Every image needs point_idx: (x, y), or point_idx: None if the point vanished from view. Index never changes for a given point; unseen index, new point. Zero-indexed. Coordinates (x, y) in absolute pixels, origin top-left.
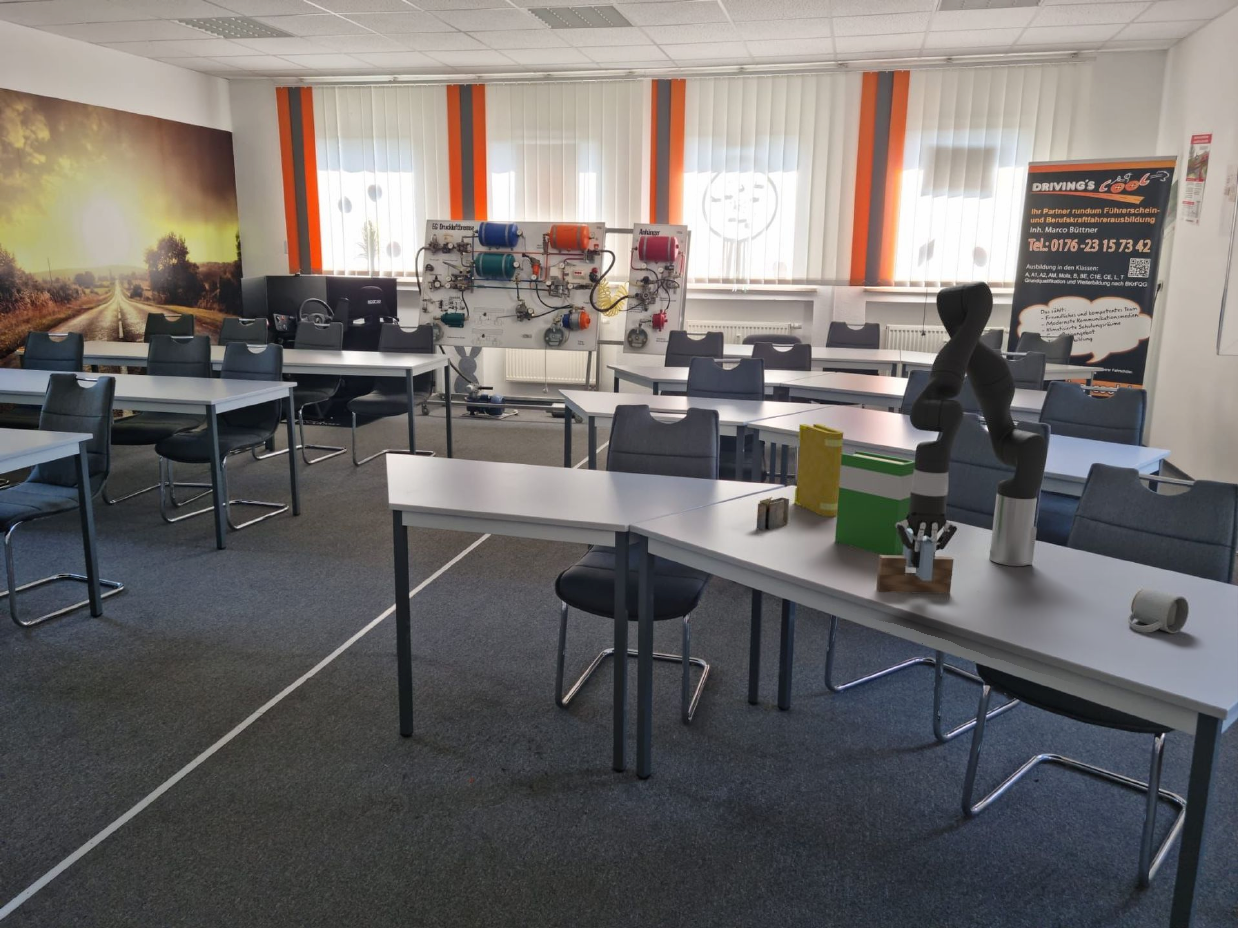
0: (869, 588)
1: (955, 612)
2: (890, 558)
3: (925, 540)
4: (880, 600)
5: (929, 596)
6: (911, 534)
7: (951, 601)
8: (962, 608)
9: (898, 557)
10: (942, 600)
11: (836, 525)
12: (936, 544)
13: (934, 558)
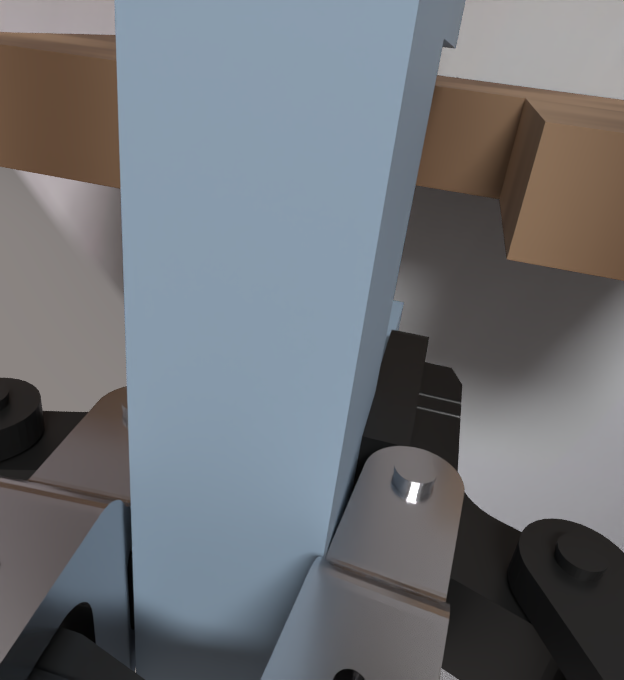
0: (91, 24)
1: (479, 506)
2: (20, 169)
3: (238, 632)
4: (115, 271)
5: (479, 244)
6: (130, 32)
7: (585, 358)
8: (571, 470)
9: (112, 157)
10: (529, 331)
11: None
12: (451, 656)
13: (610, 250)
